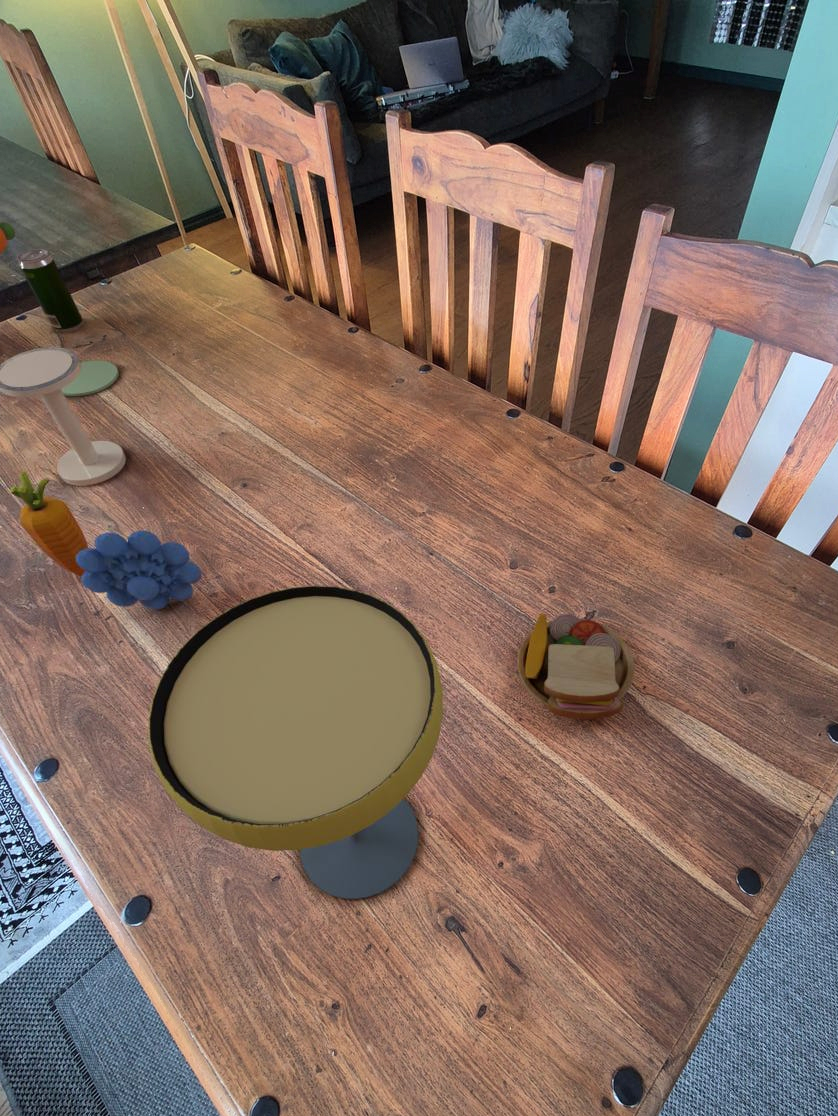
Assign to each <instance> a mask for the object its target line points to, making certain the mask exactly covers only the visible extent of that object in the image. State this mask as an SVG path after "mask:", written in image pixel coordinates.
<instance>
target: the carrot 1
mask: <svg viewBox="0 0 838 1116" xmlns="http://www.w3.org/2000/svg"><path fill="white" fill-rule="evenodd" d="M15 237H16V230H15V228H14V227H13V226H12V224H10V223H8V222H6V221H0V254H2V253H3V252H4V251H5V250H6V248H7V247H8V246H7V245H8V241H12V240H13V239H14V238H15Z"/></svg>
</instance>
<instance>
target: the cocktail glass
mask: <svg viewBox="0 0 838 1116" xmlns="http://www.w3.org/2000/svg"><path fill="white" fill-rule="evenodd" d="M443 715H444V697H443V685H442V680H441V676H440V671H439V667H438V663H437V660H436V659H435V656H434V654H433V651H432V650H431V647H430V645H429V643H428V641H427V639H426V638H425V636H424V635H423V634H422V632H421V631H420V629H419V628H418V627H417V626H416V624H415V623H414V622H413V621H411V620H410V618H408V617H407V616H406V615H405V614H404V613H403V612H402V611H401V610H399V609H397V608H396V607H395V606H393V605H392V604H390V603H389V602H387V601H385V600H383V599H380V598H379V597H376V596H374V595H372V594H370V593H366V592H363V591H360V590H357V589H354V588H347V587H342V586H335V585H334V586H333V585H305V586H295V587H289V588H284V589H279V590H273V591H270V592H267V593H264V594H261V595H257V596H255V597H251V598H250V599H247V600H245V601H243V602H241V603H239V604H236V605H234V606H232V607H230V608H229V609H226V610H225V611H224V612H222V613H220V614H219V615H217V616H215V617H213V618H212V619H211V620H210V621H209V622H207V623H206V624H205V625H203V626H202V627H201V628H200V629H198V630H197V631H196V632H195V633H194V634H193V635H192V636H191V637H190V638H189V639H188V640H187V641H186V642H185V643H184V644H183V645H182V646H181V647H180V649H178V651H177V652H176V653H175V655H174V656H173V657H172V658H171V660H170V661H169V663H168V665H167V666H166V668H165V670H164V671H163V673H162V674H161V677H160V678H159V680H158V683H157V685H156V687H155V691H154V694H153V696H152V699H151V703H150V708H149V715H148V720H147V721H148V722H147V723H148V724H147V725H148V726H147V727H148V728H147V729H148V746H149V751H150V755H151V759H152V763H153V766H154V768H155V771H156V773H157V775H158V777H159V779H160V781H161V783H162V785H163V787H164V789H165V791H166V792H167V793H168V794H169V796H170V797H171V798H172V799H173V801H174V802H175V803H176V805H177V806H178V807H179V809H180V810H181V811H183V813H184V814H186V815H187V816H188V817H189V818H190V819H192V820H193V821H194V822H195V823H197V824H198V825H199V826H200V827H201V828H203V829H204V830H206V831H208V832H210V833H212V834H214V835H215V836H217V837H219V838H220V839H223V840H225V841H228V842H231V843H234V844H237V845H240V846H243V847H246V848H249V849H250V848H251V849H255V850H256V849H257V850H264V851H271V852H279V851H281V852H283V851H299V853H300V860H301V864H302V866H303V869H304V871H305V873H306V876H308V878H309V879H310V881H311V882H312V883H313V884H314V885H315V886H316V887H317V888H318V889H319V890H321V891H323V892H324V893H326V894H328V895H330V896H332V897H335V898H339V899H344V900H361V899H366V898H370V897H373V896H377V895H378V894H381V893H382V892H385V891H387V890H388V889H390V888H391V887H392V886H393V885H394V884H395V885H396V883H398V881H399V880H400V879H401V878H402V877H404V875H405V873H406V872H407V871H408V869H409V868H410V866H411V864H412V863H413V860H414V858H415V855H416V852H417V849H418V844H419V843H418V842H419V826H418V820H417V818H416V815H415V812H414V810H413V808H412V807H411V806H410V803H408V801H407V800H406V799H405V798H406V797H407V796H408V795H409V794H410V792H411V791H412V790H413V789H414V787H415V786H416V784H418V782H419V781H420V780H421V778H422V777H423V774H424V773H425V771H426V769H427V767H428V766H429V764H430V762H431V760H432V758H433V755H434V753H435V750H436V747H437V744H438V741H439V738H440V736H441V735H440V734H441V728H442V724H443V723H442V722H443Z"/></svg>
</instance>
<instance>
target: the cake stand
mask: <svg viewBox="0 0 838 1116" xmlns="http://www.w3.org/2000/svg"><path fill="white" fill-rule="evenodd" d="M81 368H82V366H81V361H80V359H79V357H78V355H77V354H76V353H75V352H74V351H72V350H71V349H68V348H65V347H57V346H48V347H47V346H46V347H39V348H34V349H30V350H29V349H28V350H26V351H23V352H21V353H20V352H19V353H18V354H15V355H14V356H11V357H9V358H7V359H6V360H4V361H3V362H2V363H1V364H0V392H1V393H2V394H3V395H5V396H7V397H11V398H12V397H13V398H23V399H24V398H34V397H39V396H40V398H41V400H42V402H43V403H44V405H45V407H46V409H47V410H48V412H49V414H50V415H51V417H52V418H53V420H54V422H55V424H56V425H57V426H58V429H59V431H60V432H61V433H62V435H63V437H64V438H65V440H66V441H67V443H68V445H69V447H70V450H68V451H66V452H65V453H64V454H63V455H62V456H61V457H60V458H59V460H58V461H57V463H56V472H57V474H58V475H59V477H60V478H61V480H62V481H63V482H64V483H66V484H68V485H72V486H78V487H87V486H93V485H97V484H100V483H102V482H105V481H108V480H110V479H111V478H113V477H114V476H116V475H117V474H119V473H120V472H121V470H122V469H123V468H124V467H125V464H126V460H127V457H126V454H125V452H124V450H123V448H122V447H121V446H120V445H119V444H117V443H116V442H114V441H108V440H95V441H94V440H93V441H91V439H90V438H89V436H88V433H87V432H86V431H85V430H84V427H83V426H82V424H81V422H80V420H79V418H78V417H77V415H76V413H75V411H74V410H73V408H72V406H71V405H70V403H69V401H68V400H67V398H66V395H64V394H63V392H62V391H61V388H63V387H65V386H66V385H68V384H70V383H71V382H72V381H74V380H75V379H76V378H77V377H78V375H79V374H80V372H81Z"/></svg>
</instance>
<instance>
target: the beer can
mask: <svg viewBox="0 0 838 1116" xmlns="http://www.w3.org/2000/svg"><path fill="white" fill-rule="evenodd" d="M16 260H17V263H18V267H19V269H20V271H21V272H22V275H23V276H24V278H25V280H26V282H27V283H28V285H29V287H30V289H31V291H32V293H33V295H34V296H35V298H36V300H37V302H38V304H39V306H40V307H41V309H42V311H43V313H44V315H45V317H46V318H47V320H48V322H49V324H50V326H51V328H52V329H53V330H55V332H56V333H61V334H67V333H72V332H75V331H77V330H79V329H81V328H82V327H83V325H84V319H83V317H82V315H81V312H80V309H79V308H78V306H77V304H76V302H75V300H74V298H73V296H72V294H71V292H70V290H69V288H68V285H67V284H66V282H65V280H64V278H63V276H62V274H61V271H60V270H59V268H58V266H57V264H56V262H55V260H54V258H53V256H51V254H50V253H49V252H48V250H46V249H44V248H34V249H29V250H25V251H23V252H20V253H19V254H18V255H17V256H16Z"/></svg>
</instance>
